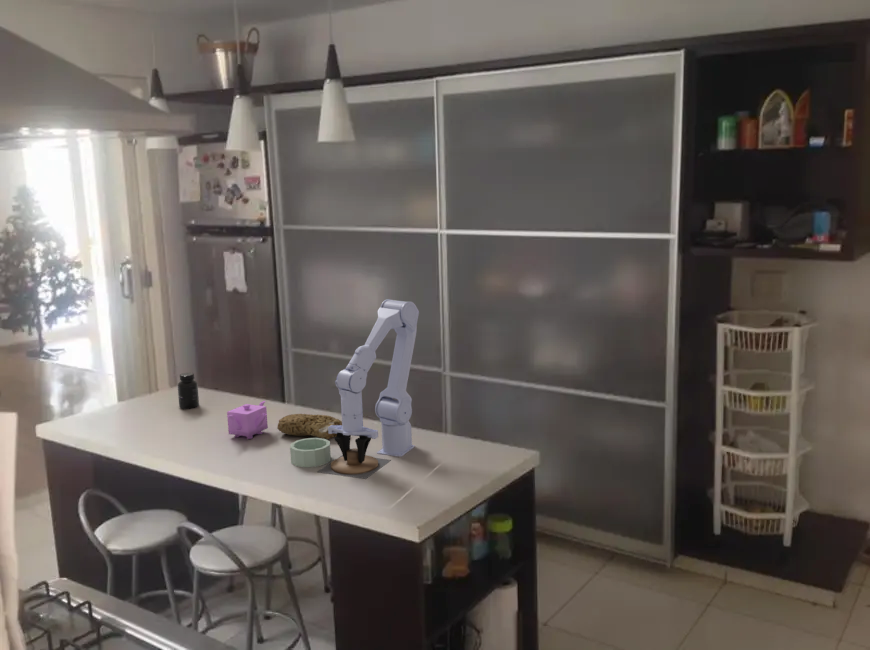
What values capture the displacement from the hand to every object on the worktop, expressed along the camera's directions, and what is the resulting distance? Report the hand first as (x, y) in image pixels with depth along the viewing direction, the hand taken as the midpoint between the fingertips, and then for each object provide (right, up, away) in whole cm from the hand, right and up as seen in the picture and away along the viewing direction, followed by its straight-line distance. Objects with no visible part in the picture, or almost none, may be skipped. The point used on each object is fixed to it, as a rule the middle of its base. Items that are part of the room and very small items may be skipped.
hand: (354, 460), depth 222 cm
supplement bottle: (-65, +8, +64) cm, 91 cm away
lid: (0, -1, 0) cm, 2 cm away
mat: (0, -2, 0) cm, 2 cm away
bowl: (-13, -1, +6) cm, 14 cm away
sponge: (-17, +3, +29) cm, 34 cm away
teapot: (-36, +3, +31) cm, 47 cm away
